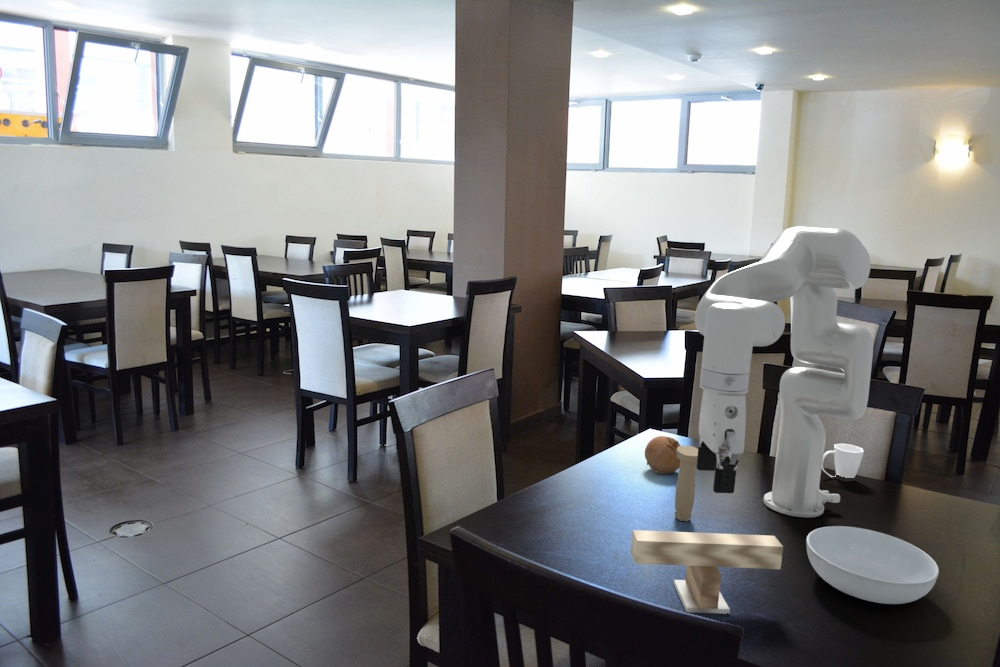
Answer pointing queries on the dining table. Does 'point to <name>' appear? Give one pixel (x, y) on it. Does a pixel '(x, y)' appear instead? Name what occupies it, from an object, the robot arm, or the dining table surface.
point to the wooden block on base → (701, 590)
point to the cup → (845, 459)
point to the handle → (685, 482)
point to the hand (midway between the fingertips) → (714, 480)
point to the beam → (706, 549)
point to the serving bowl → (871, 564)
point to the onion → (662, 455)
